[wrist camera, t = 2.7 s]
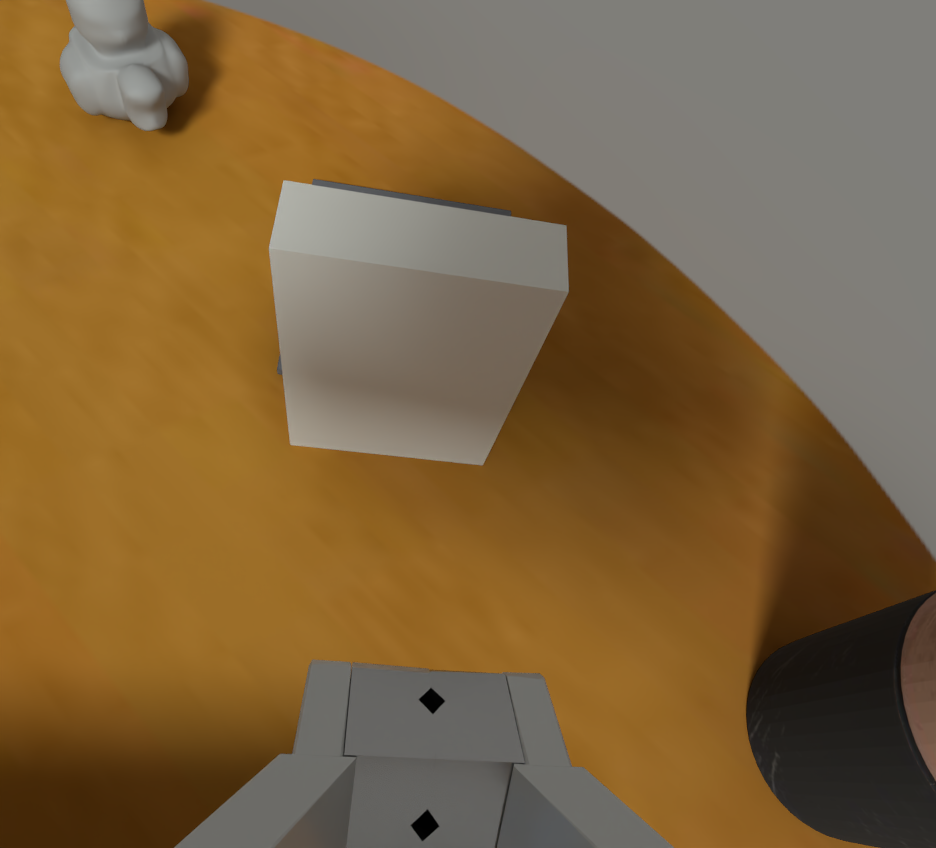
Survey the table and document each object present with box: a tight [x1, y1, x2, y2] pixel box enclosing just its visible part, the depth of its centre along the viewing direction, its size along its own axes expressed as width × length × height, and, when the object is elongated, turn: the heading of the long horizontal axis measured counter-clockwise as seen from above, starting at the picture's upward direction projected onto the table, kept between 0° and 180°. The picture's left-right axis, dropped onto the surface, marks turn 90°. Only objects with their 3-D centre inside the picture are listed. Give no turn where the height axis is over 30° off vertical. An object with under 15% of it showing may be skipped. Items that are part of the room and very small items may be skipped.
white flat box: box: [269, 180, 569, 465], centre depth 24 cm, size 8×3×12 cm, turn 88°
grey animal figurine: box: [60, 0, 189, 131], centre depth 31 cm, size 5×7×8 cm
